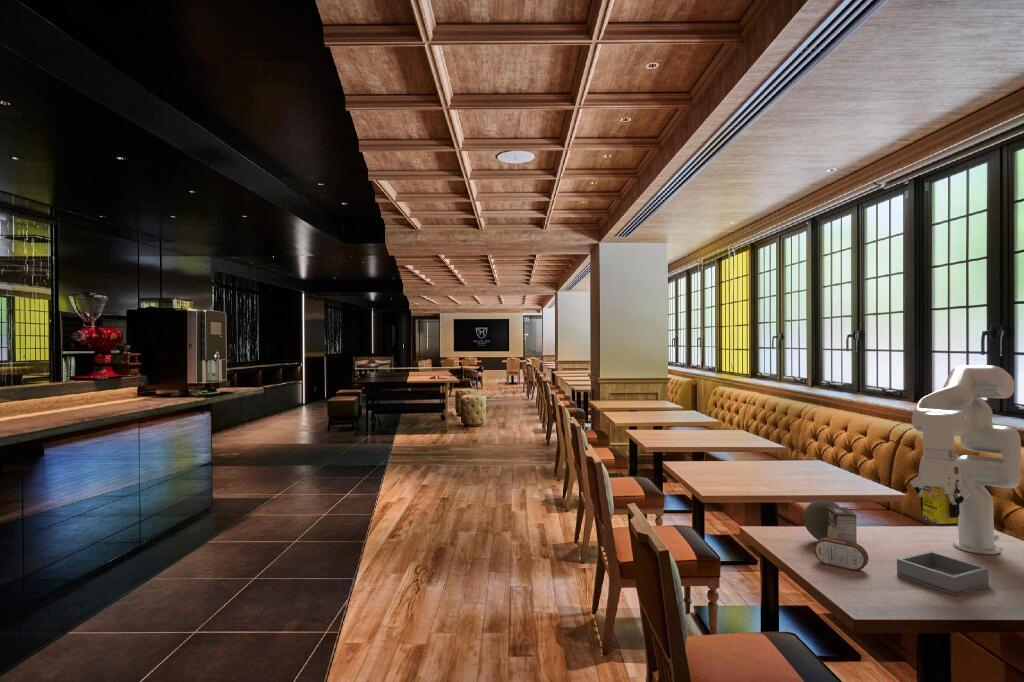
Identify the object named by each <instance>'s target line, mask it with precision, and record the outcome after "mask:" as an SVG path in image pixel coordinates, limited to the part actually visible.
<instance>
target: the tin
mask: <svg viewBox="0 0 1024 682" xmlns="http://www.w3.org/2000/svg"><path fill="white" fill-rule="evenodd" d="M813 550H814V554H815V557H816V558H817V559H818V560H819V561H820V562H821V563H823V564H824V565H828V566H832V567H835V566H836V568H840V567H841V568H840V569H844V568H845V570H848V569H850V570H849V571H853V570H854V571H853V572H856V571H857V572H858V571H861V570H863V569H864V568H865V567H867V565H868V563H869V554H868V552H867V551H866V548H864V547H863V546H862V545H860V544H859V543H854V542H849V541H844V540H839V539H834V538H830V537H823V538H821V539H819V540H817V541H816V543H815V544H814V547H813Z"/></svg>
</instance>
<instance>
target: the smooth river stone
mask: <svg viewBox="0 0 1024 682" xmlns="http://www.w3.org/2000/svg"><path fill="white" fill-rule="evenodd" d="M827 507H841V506H840V505H839V504H837V502H834V501H831V500H826V499H825V500H823V499H821V500H814V501H812V502H810V503H809V504H808V505H806V507H805V509H804V510H803V512H802V520H803V524H804V527H805V529H806V531H807V532H808V533H809V534H810V535H811V536H812V537H813V538H814V539H816V540H817V541H818V540H819V539H821V538H823V537H828V527H827Z"/></svg>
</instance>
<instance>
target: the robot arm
mask: <svg viewBox="0 0 1024 682" xmlns="http://www.w3.org/2000/svg"><path fill="white" fill-rule="evenodd" d="M1014 392H1015V381H1014V378H1013V377H1012V375H1011V374H1010V373H1008V372H1007V371H1006V370H1005V369H1004V368H1002V367H1000V366H998V365H997V366H996V365H978V364H977V365H976V364H975V365H973V364H972V365H971V364H964V365H957V366H955V367H954V368H952V369H951V370H950V372H949V374H948V376H947V378H946V381H945V383H944V384H943V387H942V389H939V390H936V391H934V392H932V393H929V394H928V395H925V396H923V397H922V398H920V399H919V400H918V402H917V404H916V406H915V407H914V410H913V413H912V415H911V425H912V427H913V428H914V429H915V430H916V431H917V432H920V433H922V454H923V455H922V456H921V458H920V462H919V467H918V474H917V475H918V476H917V477H915V478H914V479H912V480H910V482H909V483H910V484H911V486H912V487H913V489H914V490H915V492H916V494H917V495H918V498H920V507H921V509H920V510H921V511H922V512H923V487H924V486H930V487H935V488H940V489H943V492H944V494H946V495H947V496H948V497H949V499H950V501H951V503H952V504H950V505H949V513H950V518H956V517H957V529H958V530H957V531H958V539H955V540H953V541H952V545H953V546H954V547H955V548H957V549H959V550H961V551H965V552H968V553H974V554H980V555H997V554H1000V552H1001V549H1000V547H999V546H998V545H995V542H996V541H1000V536H999V535H998V534H995V531H994V530H995V527H994V526H995V525H994V499H993V497H992V495H991V493H990V492H989V490H988V489H987V488H986V487H987V486H989V487H994V488H1002V489H1005V488H1006V489H1015V488H1017V487H1018V486H1019V484H1020V481H1021V472H1022V470H1021V469H1022V468H1021V467H1022V466H1021V464H1022V463H1021V462H1022V460H1021V459H1022V441H1021V440H1022V439H1021V435H1020V433H1019V432H1018V430H1017V429H1016V428H1014V427H1012V426H1008V425H996V424H993V410H992V408H991V406H990V405H989V404H988V403H987V402H986V401H985V400H984V399H983V398H986V399H1009V398H1010V397H1011V396H1013V394H1014ZM955 436H960V438H959V439H960V444H961V446H962V448H963V449H965V450H966V451H970V452H976V453H987V454H996V455H1000V456H1001V457H1000V458H999V457H991V456H982V455H973V454H964V455H959V452H956V450H955ZM985 486H986V487H985ZM955 489H956V490H955Z"/></svg>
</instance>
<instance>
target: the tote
mask: <svg viewBox="0 0 1024 682" xmlns="http://www.w3.org/2000/svg"><path fill="white" fill-rule="evenodd" d="M897 575H898V577H900V576H901V577H900V578H902V579H903V578H904V579H906V580H909V581H911V580H912V581H911V582H914V581H915V582H916V583H917V582H918V583H917V584H920V583H921V584H920V585H923V584H924V585H923V586H926V585H927V586H926V587H928V586H930V587H929V588H931V587H932V589H934V588H935V589H934V590H937V589H938V591H940V590H941V591H940V592H943V593H945V592H946V594H948V593H949V595H951V594H952V596H954V595H955V596H957V595H958V594H959V595H963V594H965V592H966V593H969V592H972V591H975V590H976V591H977V590H979V589H982V588H986V587H989V585H990V582H989V581H990V580H989V577H990V576H989V568H988V567H985V566H983V565H982V566H981V565H979V564H975V563H971V562H969V561H966V560H962V559H958V558H954V557H951V556H949V555H944V554H941V553H939V552H938V553H937V552H935V551H932V550H930V551H925V552H921V553H917V554H912V555H908V556H904V557H899V558H897V559H896V576H897ZM915 582H914V583H915Z"/></svg>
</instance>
